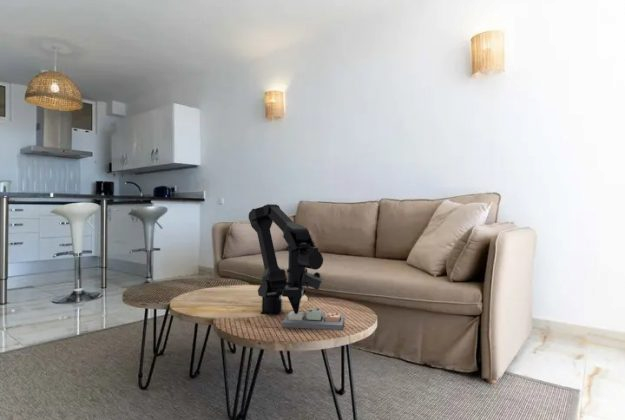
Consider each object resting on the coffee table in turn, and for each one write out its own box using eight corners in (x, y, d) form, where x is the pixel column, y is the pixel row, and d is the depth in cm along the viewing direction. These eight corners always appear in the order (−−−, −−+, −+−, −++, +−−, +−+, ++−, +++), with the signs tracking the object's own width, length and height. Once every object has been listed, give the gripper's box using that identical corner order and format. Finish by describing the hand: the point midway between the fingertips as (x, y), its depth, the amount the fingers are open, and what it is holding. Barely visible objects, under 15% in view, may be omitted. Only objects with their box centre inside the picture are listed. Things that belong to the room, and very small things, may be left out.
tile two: (306, 319, 128) (306, 311, 128) (308, 315, 132) (308, 307, 132) (320, 320, 127) (320, 311, 127) (321, 316, 132) (322, 308, 132)
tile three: (325, 324, 127) (325, 316, 127) (326, 320, 132) (326, 312, 132) (339, 325, 127) (339, 316, 127) (339, 321, 131) (340, 313, 131)
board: (282, 326, 125) (282, 322, 125) (289, 316, 137) (289, 312, 137) (342, 330, 123) (342, 325, 123) (344, 319, 135) (344, 315, 135)
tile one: (288, 322, 129) (288, 314, 129) (290, 318, 133) (290, 310, 133) (301, 323, 128) (302, 315, 128) (304, 319, 133) (304, 311, 133)
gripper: (317, 270, 120) (317, 322, 120) (324, 262, 139) (323, 307, 139) (281, 269, 122) (281, 320, 122) (292, 261, 140) (292, 305, 140)
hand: (296, 312), depth 131 cm, fingers closed, pressing on tile one
